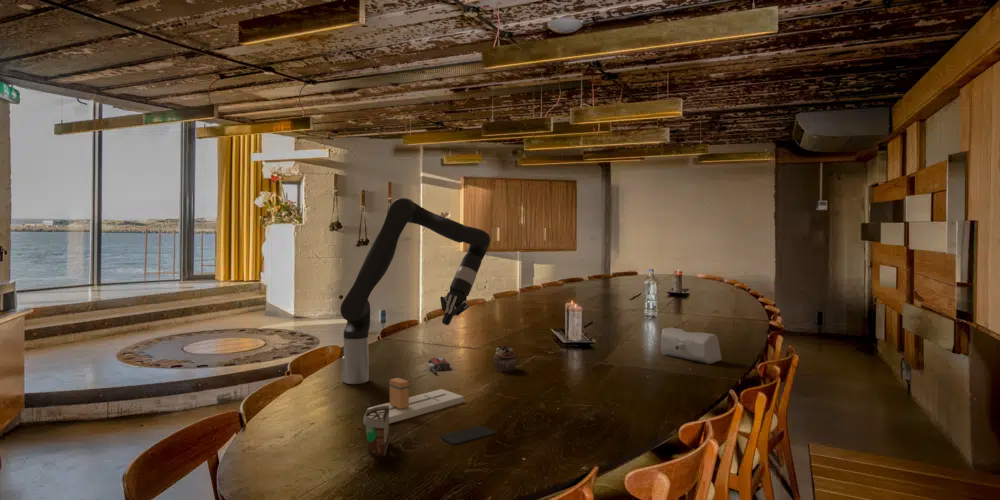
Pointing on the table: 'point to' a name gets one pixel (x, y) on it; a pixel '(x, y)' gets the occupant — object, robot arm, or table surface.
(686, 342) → the grey faceted block
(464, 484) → the table surface
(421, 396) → the white slider board
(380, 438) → the food container
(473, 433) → the phone
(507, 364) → the cupcake
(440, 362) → the walkie-talkie
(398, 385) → the fader tab
